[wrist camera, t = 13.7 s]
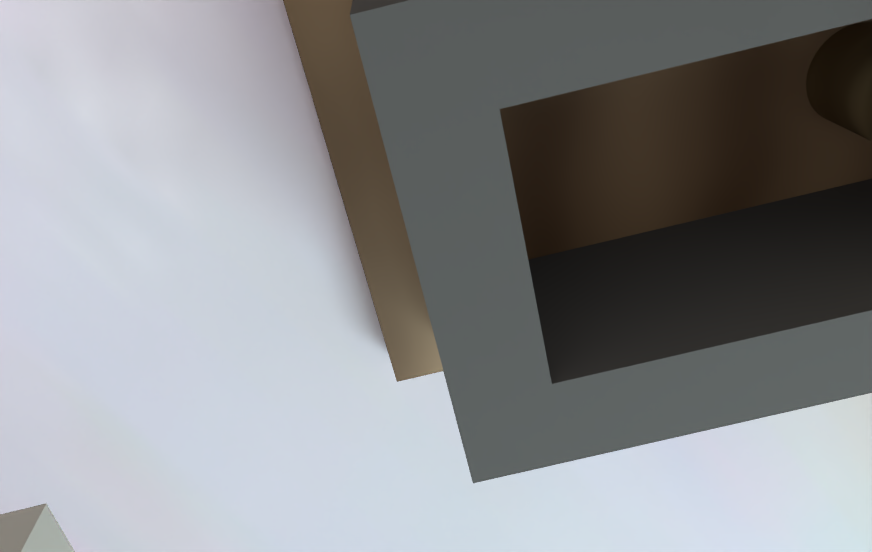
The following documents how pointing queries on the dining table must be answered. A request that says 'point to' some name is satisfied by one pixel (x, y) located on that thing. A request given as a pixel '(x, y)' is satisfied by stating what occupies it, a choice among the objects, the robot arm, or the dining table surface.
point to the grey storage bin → (611, 260)
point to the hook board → (604, 151)
